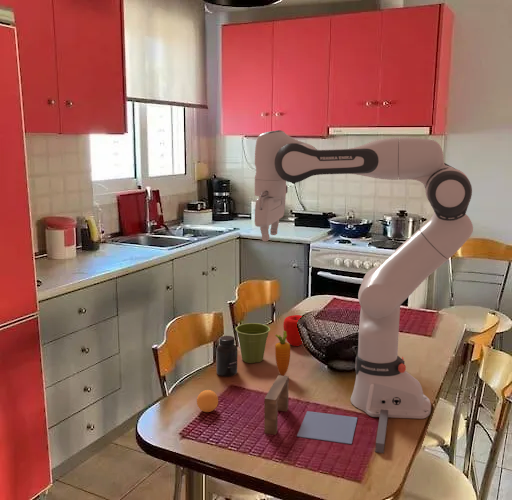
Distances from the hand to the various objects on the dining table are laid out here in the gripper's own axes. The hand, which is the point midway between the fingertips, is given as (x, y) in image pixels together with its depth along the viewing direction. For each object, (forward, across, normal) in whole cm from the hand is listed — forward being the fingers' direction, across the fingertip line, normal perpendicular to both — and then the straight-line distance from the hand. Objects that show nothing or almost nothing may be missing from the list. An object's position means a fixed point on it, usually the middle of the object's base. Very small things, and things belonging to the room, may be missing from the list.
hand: (269, 237), depth 166 cm
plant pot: (+47, +22, +11) cm, 53 cm away
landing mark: (+47, -17, -21) cm, 54 cm away
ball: (+44, -17, +13) cm, 49 cm away
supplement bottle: (+47, +9, +16) cm, 51 cm away
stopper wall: (+47, -17, -35) cm, 61 cm away
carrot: (+47, +11, -2) cm, 48 cm away
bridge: (+47, -17, -7) cm, 51 cm away
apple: (+47, +40, 0) cm, 62 cm away
